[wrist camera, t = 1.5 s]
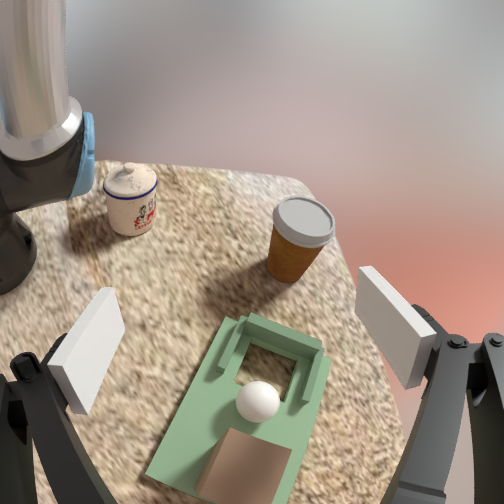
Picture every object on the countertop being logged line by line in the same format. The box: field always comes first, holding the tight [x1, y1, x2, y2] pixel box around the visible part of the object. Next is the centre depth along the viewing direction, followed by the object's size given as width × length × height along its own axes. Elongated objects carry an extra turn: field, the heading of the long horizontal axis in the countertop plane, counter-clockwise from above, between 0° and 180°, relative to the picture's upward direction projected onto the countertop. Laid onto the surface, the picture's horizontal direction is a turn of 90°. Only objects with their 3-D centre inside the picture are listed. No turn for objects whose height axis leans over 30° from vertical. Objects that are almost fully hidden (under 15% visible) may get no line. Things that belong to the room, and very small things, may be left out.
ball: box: [236, 381, 280, 423], centre depth 33 cm, size 5×5×5 cm
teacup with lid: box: [103, 163, 157, 236], centre depth 50 cm, size 12×9×12 cm
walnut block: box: [194, 428, 292, 504], centre depth 23 cm, size 5×6×14 cm
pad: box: [145, 312, 332, 504], centre depth 33 cm, size 16×24×5 cm, turn 159°
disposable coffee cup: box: [267, 196, 335, 283], centre depth 48 cm, size 10×10×12 cm
